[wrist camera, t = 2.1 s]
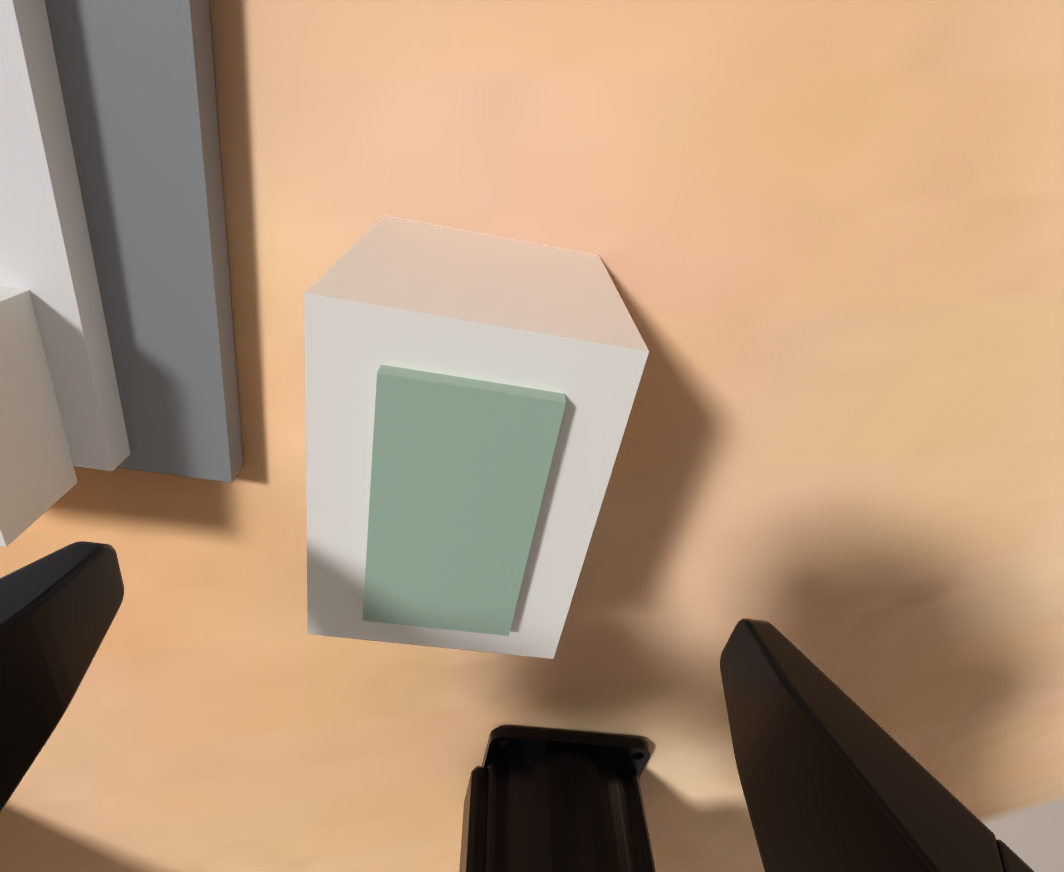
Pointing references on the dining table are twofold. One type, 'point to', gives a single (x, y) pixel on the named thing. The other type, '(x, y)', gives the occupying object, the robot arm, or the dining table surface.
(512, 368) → the block
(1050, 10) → the dining table surface
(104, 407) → the rail board
